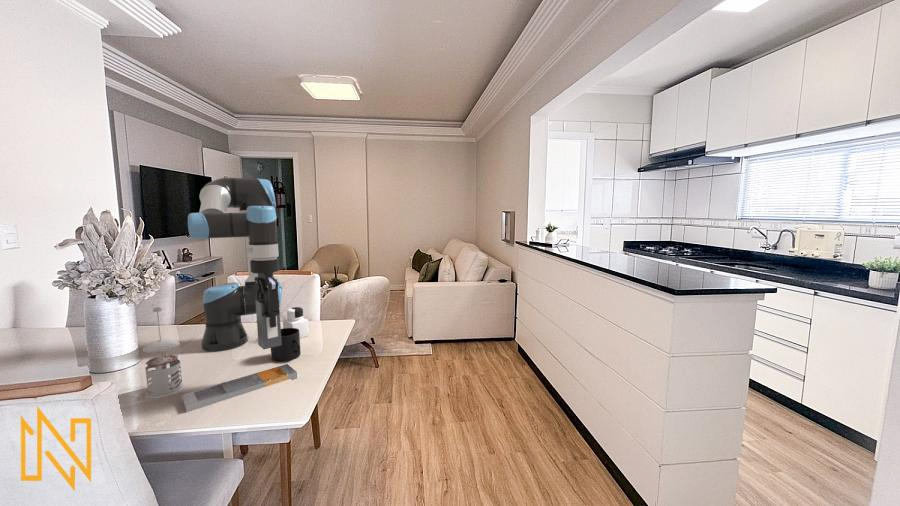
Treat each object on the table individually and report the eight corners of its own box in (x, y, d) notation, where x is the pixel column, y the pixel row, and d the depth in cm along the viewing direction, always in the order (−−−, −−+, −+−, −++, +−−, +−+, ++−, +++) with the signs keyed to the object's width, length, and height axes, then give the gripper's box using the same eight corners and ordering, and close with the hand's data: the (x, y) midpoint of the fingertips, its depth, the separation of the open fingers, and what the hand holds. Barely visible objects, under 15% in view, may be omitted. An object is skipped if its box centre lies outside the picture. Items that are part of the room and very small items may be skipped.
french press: (137, 403, 96) (127, 314, 93) (153, 384, 106) (144, 303, 103) (181, 396, 100) (173, 309, 96) (192, 378, 110) (185, 299, 107)
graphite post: (258, 345, 107) (255, 299, 106) (275, 340, 111) (273, 297, 109) (263, 349, 104) (260, 303, 102) (281, 345, 107) (278, 299, 106)
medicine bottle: (299, 332, 151) (298, 305, 150) (309, 335, 147) (307, 307, 146) (283, 337, 145) (281, 308, 144) (293, 341, 141) (291, 311, 140)
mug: (288, 365, 119) (287, 339, 118) (265, 358, 124) (263, 334, 123) (311, 355, 127) (310, 331, 126) (288, 349, 133) (287, 326, 132)
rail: (181, 402, 96) (180, 395, 96) (287, 369, 116) (287, 363, 116) (186, 414, 91) (185, 406, 91) (297, 377, 110) (296, 371, 110)
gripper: (241, 256, 108) (246, 330, 111) (260, 263, 95) (265, 346, 98) (267, 254, 113) (272, 325, 116) (289, 260, 100) (293, 339, 103)
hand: (269, 334), depth 107 cm, fingers closed on graphite post, 5 cm apart
